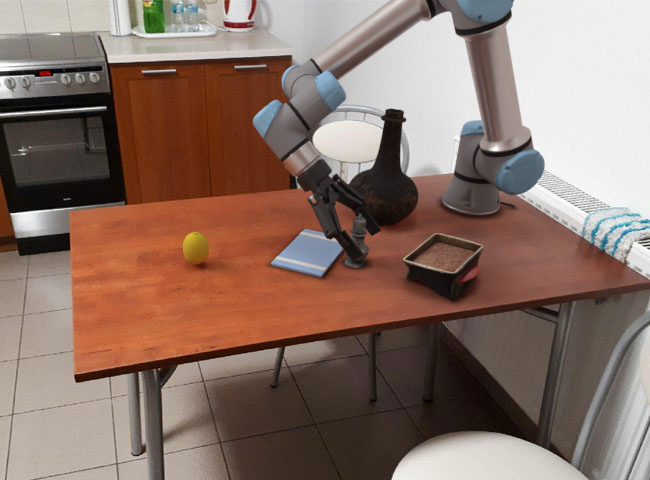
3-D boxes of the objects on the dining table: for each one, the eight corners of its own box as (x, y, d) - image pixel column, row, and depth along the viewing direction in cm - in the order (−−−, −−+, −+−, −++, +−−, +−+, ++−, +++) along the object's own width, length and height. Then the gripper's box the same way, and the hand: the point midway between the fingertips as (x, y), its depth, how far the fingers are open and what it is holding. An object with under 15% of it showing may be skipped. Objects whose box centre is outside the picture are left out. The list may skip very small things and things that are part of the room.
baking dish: (390, 289, 138) (395, 252, 131) (433, 251, 148) (440, 215, 141) (449, 319, 131) (457, 281, 124) (490, 277, 141) (500, 240, 134)
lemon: (198, 256, 143) (197, 224, 139) (214, 265, 140) (213, 232, 136) (178, 264, 140) (176, 231, 136) (194, 273, 137) (192, 239, 132)
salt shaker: (367, 270, 141) (372, 220, 134) (340, 266, 142) (345, 217, 135) (369, 258, 146) (375, 209, 139) (343, 254, 146) (348, 206, 140)
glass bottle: (336, 207, 170) (345, 100, 155) (398, 203, 174) (413, 98, 159) (357, 236, 155) (369, 121, 141) (425, 231, 159) (444, 119, 144)
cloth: (270, 265, 141) (270, 262, 141) (304, 230, 157) (305, 228, 156) (321, 277, 137) (321, 274, 137) (351, 240, 153) (351, 238, 153)
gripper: (316, 160, 149) (371, 231, 152) (272, 196, 130) (336, 277, 133) (340, 141, 145) (396, 215, 148) (297, 176, 125) (363, 260, 128)
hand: (367, 244), depth 140 cm, fingers open, 13 cm apart
